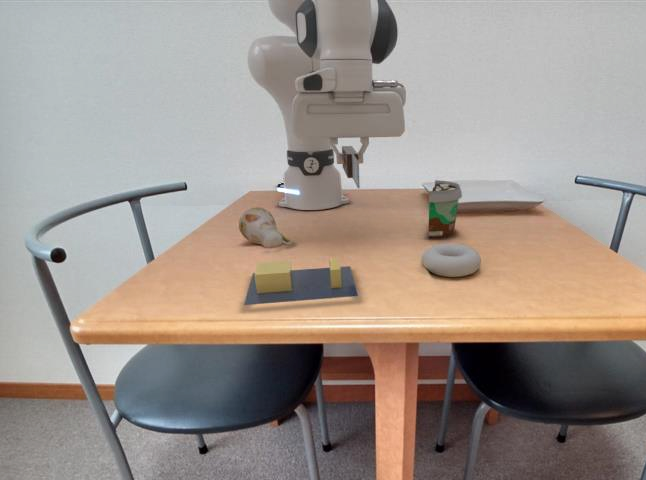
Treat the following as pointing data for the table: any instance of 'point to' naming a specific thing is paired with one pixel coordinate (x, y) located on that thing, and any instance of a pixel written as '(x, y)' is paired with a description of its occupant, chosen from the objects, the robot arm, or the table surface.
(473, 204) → the square plate
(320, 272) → the butter dish
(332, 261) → the butter slice
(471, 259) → the donut
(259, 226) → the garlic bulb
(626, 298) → the table surface
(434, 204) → the food container
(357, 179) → the knife
